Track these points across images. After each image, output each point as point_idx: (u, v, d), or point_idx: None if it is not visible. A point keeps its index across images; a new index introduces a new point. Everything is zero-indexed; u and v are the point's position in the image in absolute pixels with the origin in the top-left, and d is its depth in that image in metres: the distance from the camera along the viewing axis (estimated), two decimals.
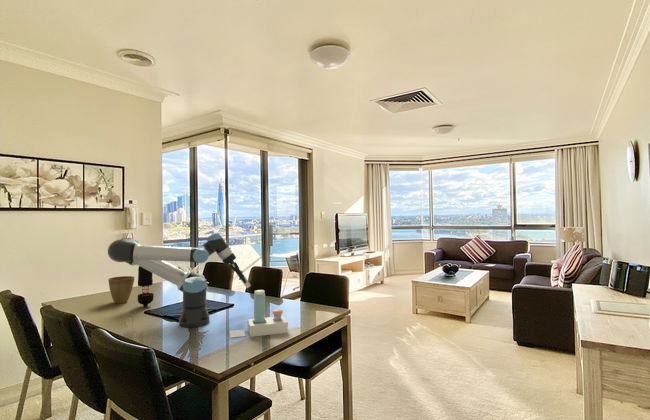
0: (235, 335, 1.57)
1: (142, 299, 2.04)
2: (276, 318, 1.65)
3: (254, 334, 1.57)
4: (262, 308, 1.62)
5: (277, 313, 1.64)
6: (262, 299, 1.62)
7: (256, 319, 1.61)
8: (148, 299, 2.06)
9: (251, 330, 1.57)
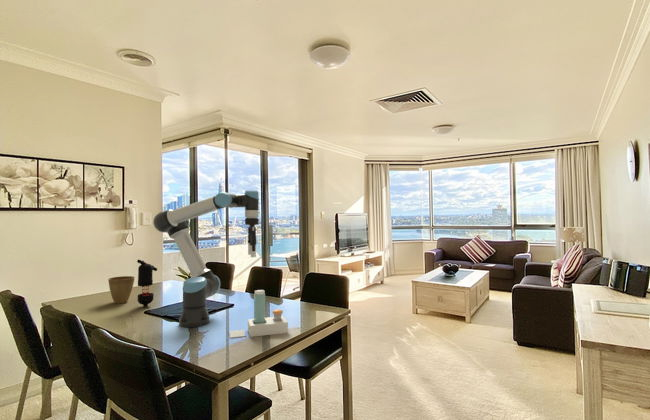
0: (235, 335, 1.57)
1: (142, 299, 2.04)
2: (276, 318, 1.65)
3: (254, 334, 1.57)
4: (262, 308, 1.62)
5: (277, 313, 1.64)
6: (262, 299, 1.62)
7: (256, 319, 1.61)
8: (148, 299, 2.06)
9: (251, 330, 1.57)
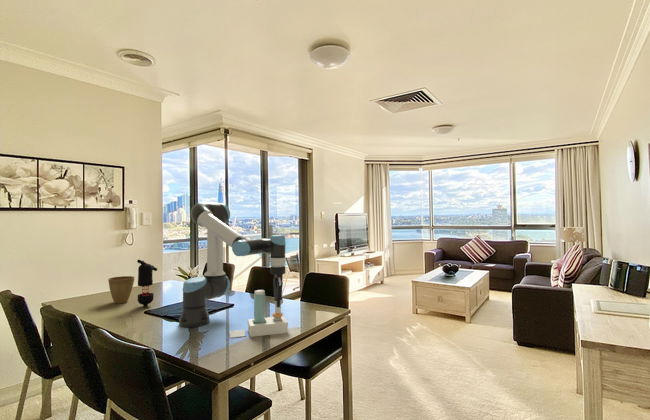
0: (235, 335, 1.57)
1: (142, 299, 2.04)
2: None
3: (254, 334, 1.57)
4: (262, 308, 1.62)
5: (277, 316, 1.64)
6: (262, 299, 1.62)
7: (256, 319, 1.61)
8: (148, 299, 2.06)
9: (251, 330, 1.57)
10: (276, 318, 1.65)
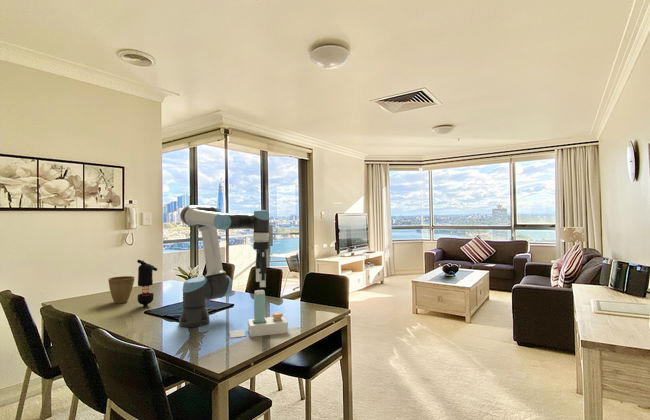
0: (235, 335, 1.57)
1: (142, 299, 2.04)
2: None
3: (254, 334, 1.57)
4: (262, 308, 1.62)
5: (277, 316, 1.64)
6: (262, 299, 1.62)
7: (256, 319, 1.61)
8: (148, 299, 2.06)
9: (251, 330, 1.57)
10: (276, 319, 1.64)
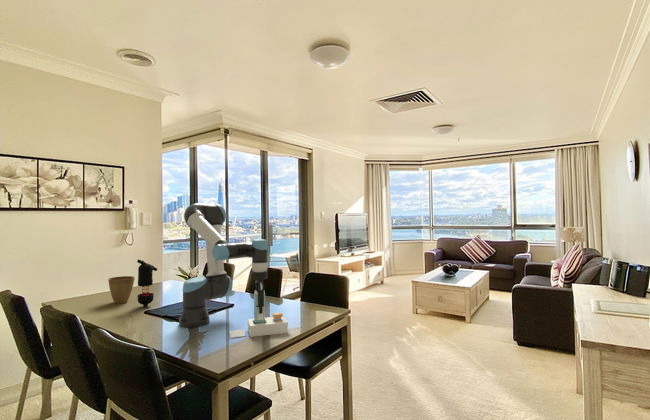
0: (235, 335, 1.57)
1: (142, 299, 2.04)
2: None
3: (254, 334, 1.57)
4: None
5: (277, 316, 1.64)
6: None
7: (256, 319, 1.61)
8: (148, 299, 2.06)
9: (251, 330, 1.57)
10: (276, 319, 1.64)
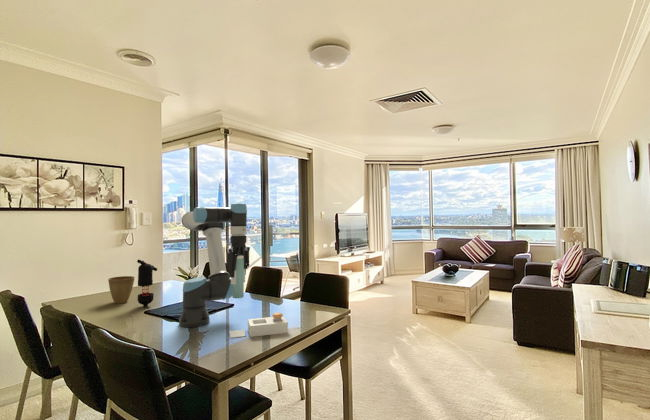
0: (235, 335, 1.57)
1: (142, 299, 2.04)
2: None
3: (254, 334, 1.57)
4: (236, 273, 1.58)
5: (277, 316, 1.64)
6: (236, 264, 1.58)
7: None
8: (148, 299, 2.06)
9: (251, 330, 1.57)
10: (276, 319, 1.64)
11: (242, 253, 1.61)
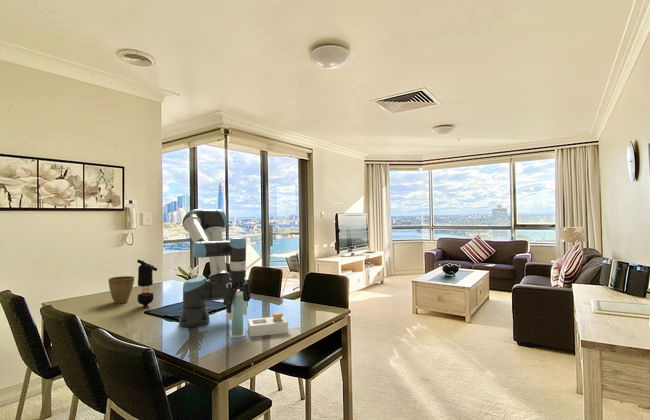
0: (235, 335, 1.57)
1: (142, 299, 2.04)
2: None
3: (254, 334, 1.57)
4: (235, 309, 1.58)
5: (277, 316, 1.64)
6: (235, 300, 1.58)
7: None
8: (148, 299, 2.06)
9: (251, 330, 1.57)
10: (276, 319, 1.64)
11: (242, 288, 1.61)
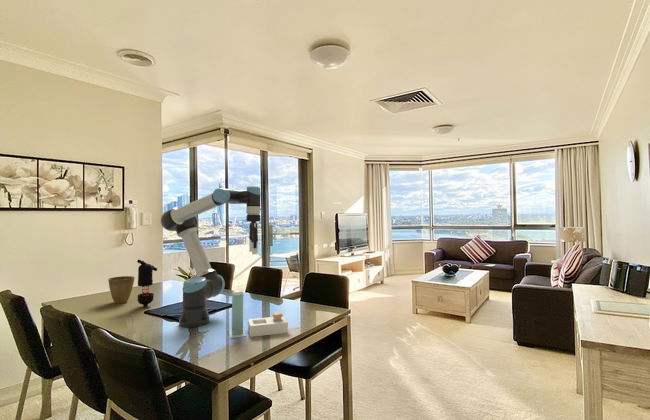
0: (235, 335, 1.57)
1: (142, 299, 2.04)
2: None
3: (254, 334, 1.57)
4: (235, 309, 1.58)
5: (277, 316, 1.64)
6: (235, 300, 1.58)
7: (232, 319, 1.59)
8: (148, 299, 2.06)
9: (251, 330, 1.57)
10: (276, 319, 1.64)
11: None
